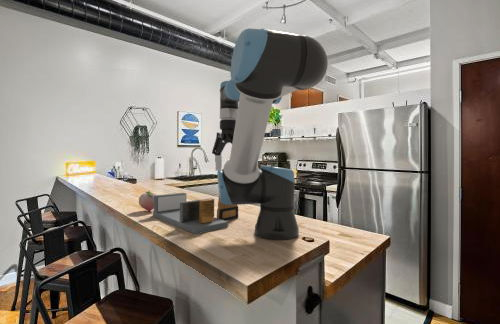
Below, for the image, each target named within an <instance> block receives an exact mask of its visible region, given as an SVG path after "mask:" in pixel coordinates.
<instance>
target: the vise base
mask: <svg viewBox="0 0 500 324" xmlns="http://www.w3.org/2000/svg"><path fill="white" fill-rule="evenodd" d="M186 201H187V192H186V193H185V192H179V193H178V192H177V193H167V194H166V193H165V194H156V195H154V209H153V210H152V217H155V218H157V219H160V220H162V221H164V222H167V223H168V224H171V225H173V226H176V227H178V228H180V229H183V230H185V231H187V232H189V233H192V234H194V235H198V234H203V233H206V232H212V231H216V230H220V229H224V228H225V229H226V228H228V227H229V220H227V221H224V220H221V219H218V218H217V217H215V216H214V221H212V222H207V223H199V219H198V220H192V221H187V222H180V202H186Z"/></svg>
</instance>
